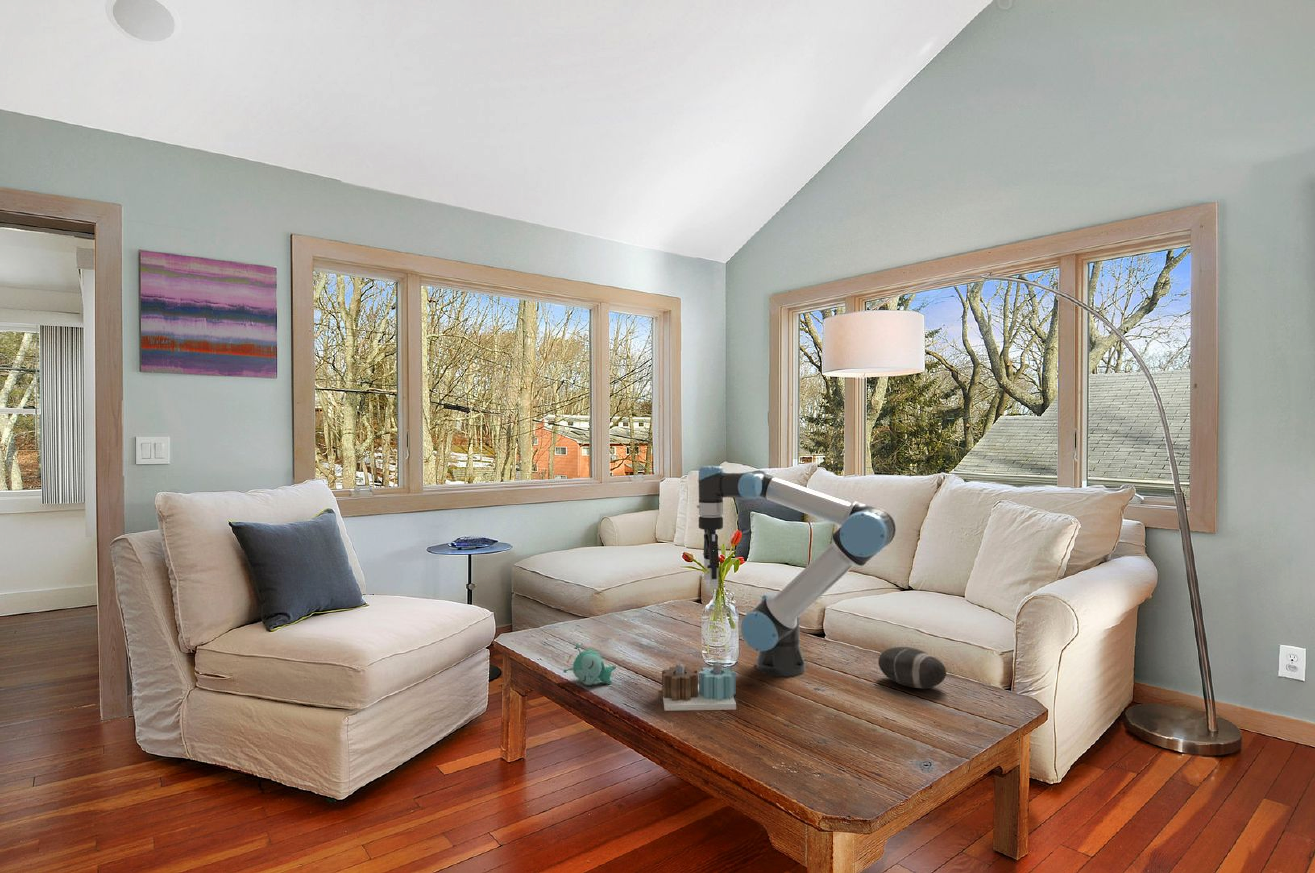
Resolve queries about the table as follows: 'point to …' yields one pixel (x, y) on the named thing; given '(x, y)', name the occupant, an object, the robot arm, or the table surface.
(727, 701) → the gear board
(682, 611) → the table surface
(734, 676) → the teal gear
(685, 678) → the walnut gear
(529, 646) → the table surface
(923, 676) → the decorative stone
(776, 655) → the robot arm
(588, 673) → the toy
